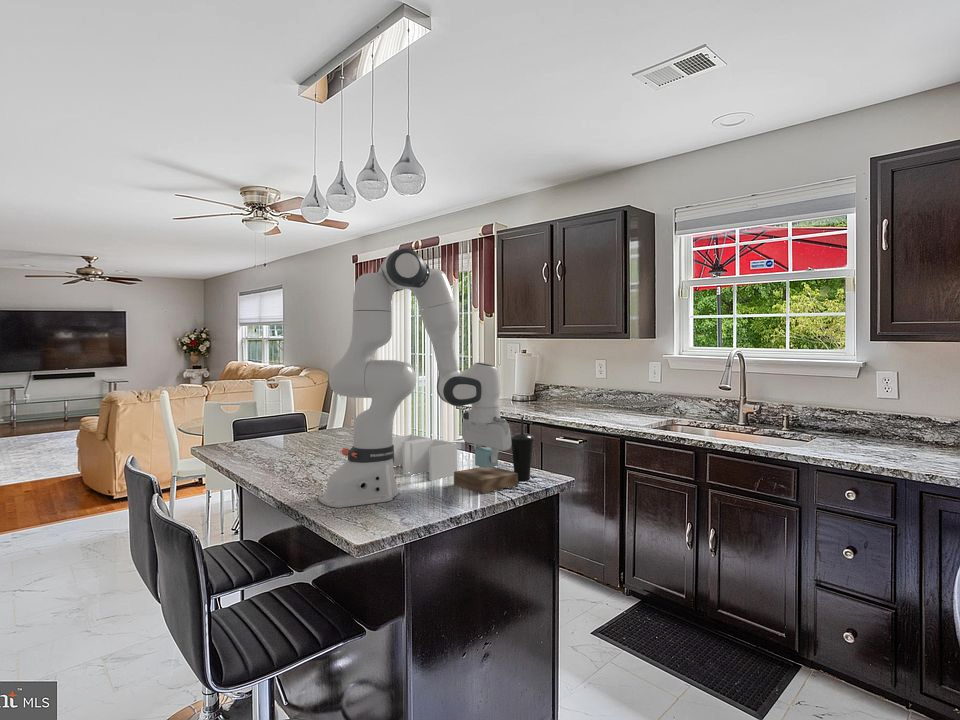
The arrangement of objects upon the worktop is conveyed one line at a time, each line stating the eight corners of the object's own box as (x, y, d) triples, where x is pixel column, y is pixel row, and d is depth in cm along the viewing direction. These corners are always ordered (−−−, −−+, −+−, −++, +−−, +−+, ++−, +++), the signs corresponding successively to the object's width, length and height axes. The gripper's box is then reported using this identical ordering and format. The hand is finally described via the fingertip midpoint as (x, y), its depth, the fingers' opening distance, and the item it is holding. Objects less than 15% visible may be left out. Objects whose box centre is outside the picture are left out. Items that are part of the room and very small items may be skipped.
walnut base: (481, 493, 161) (481, 480, 161) (454, 484, 172) (454, 471, 172) (517, 486, 170) (517, 473, 170) (489, 477, 181) (489, 465, 181)
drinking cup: (535, 481, 175) (535, 418, 175) (511, 481, 175) (511, 418, 175) (532, 475, 183) (532, 415, 183) (509, 476, 183) (509, 415, 183)
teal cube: (497, 465, 171) (497, 449, 170) (485, 468, 167) (485, 451, 167) (487, 462, 174) (487, 447, 174) (475, 465, 171) (475, 449, 171)
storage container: (456, 475, 185) (456, 443, 184) (431, 481, 177) (431, 447, 177) (410, 464, 202) (410, 434, 202) (385, 469, 195) (385, 438, 194)
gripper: (516, 418, 164) (516, 464, 165) (474, 411, 180) (474, 453, 181) (499, 420, 160) (500, 468, 161) (458, 413, 176) (458, 456, 177)
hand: (486, 460), depth 171 cm, fingers closed on teal cube, 5 cm apart
